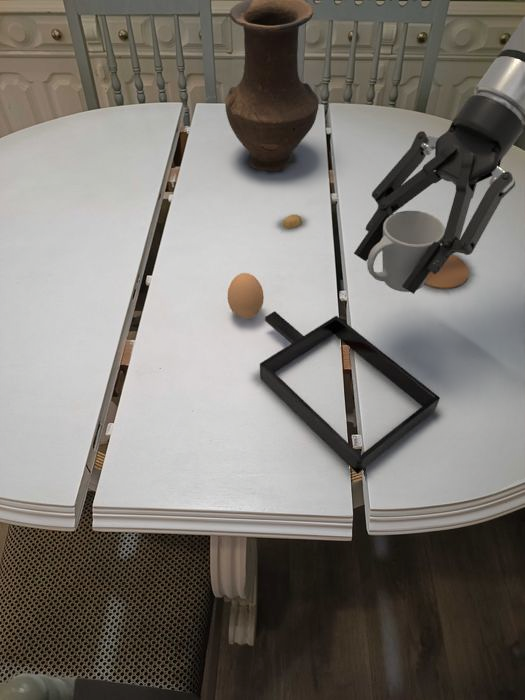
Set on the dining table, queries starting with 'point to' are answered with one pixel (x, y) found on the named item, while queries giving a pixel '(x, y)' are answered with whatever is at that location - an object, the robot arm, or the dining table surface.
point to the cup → (404, 246)
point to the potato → (292, 221)
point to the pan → (371, 355)
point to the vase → (271, 83)
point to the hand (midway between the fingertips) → (383, 273)
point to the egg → (245, 295)
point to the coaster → (449, 274)
